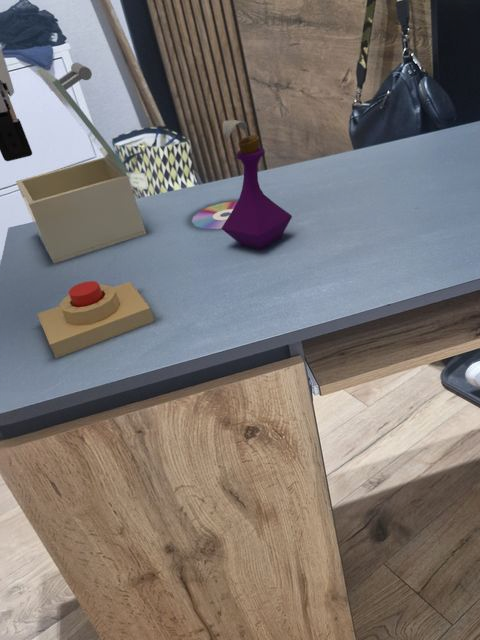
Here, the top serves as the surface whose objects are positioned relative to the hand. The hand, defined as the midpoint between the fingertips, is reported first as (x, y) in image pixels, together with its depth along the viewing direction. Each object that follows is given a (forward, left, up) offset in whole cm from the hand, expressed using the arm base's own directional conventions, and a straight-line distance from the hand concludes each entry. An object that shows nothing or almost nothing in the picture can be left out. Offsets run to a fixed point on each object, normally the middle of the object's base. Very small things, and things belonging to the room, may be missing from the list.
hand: (18, 156), depth 77 cm
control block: (+1, -10, -20) cm, 22 cm away
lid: (+11, +20, -2) cm, 23 cm away
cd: (+27, +11, -20) cm, 35 cm away
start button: (+1, -10, -16) cm, 19 cm away
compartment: (+7, +20, -20) cm, 29 cm away
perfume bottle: (+27, -3, -20) cm, 33 cm away
